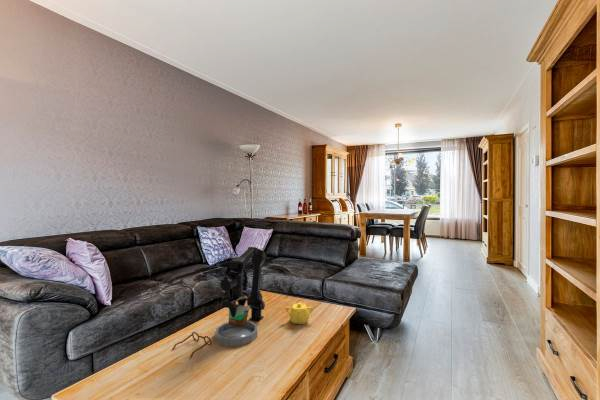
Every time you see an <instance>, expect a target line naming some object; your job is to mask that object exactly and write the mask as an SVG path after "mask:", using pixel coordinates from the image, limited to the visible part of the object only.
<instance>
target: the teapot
mask: <svg viewBox="0 0 600 400" xmlns="http://www.w3.org/2000/svg"><path fill="white" fill-rule="evenodd" d="M289 309H290V310H289ZM309 309H310V311H309ZM285 311H286V313H287V314H288V315H289V319H290V321H291V324H292V325H293V324H295V325H305V324H307V323H308V321H309V317H310V315H311V314H312V313H313V312H314V307H313V306H307V305H306V304H305V303H302V302H300V301H299V302H298V303H293V305H292V306H286V307H285Z"/></svg>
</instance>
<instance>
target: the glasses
mask: <svg viewBox="0 0 600 400" xmlns="http://www.w3.org/2000/svg"><path fill="white" fill-rule="evenodd" d="M195 335H196V336H197V339H196V338H195V337H194V336H195ZM191 337H192V339H193V341H196V340H197V341H196V342H199V341H200V338H201V339H202V340H203V341H204V344H203V345H201V346H200V347H199V348H196V349H195V350H193V351H192V353H191V354H190V356H189V358H190V359H192V357H193V356H194V354H195V353H196V352H198V351H199V350H202V349H203V348H204V347H205V346H206V345H207V346H211V345H212V339H211V338H210V337H209V336H207V335H205V336H202V335H200V334H198V333H197V332H195V331H192V332H191V334H190V335H188V336H187V337H186V338H184V339H183V340H182V341H178V342H177V343H175V344H174V345H173V347H172V349H171V351H172V350H173V351H174V350H175V348H176V346H178V345H179V344H182V343H184V342H186V340H188V339H190V338H191ZM206 338H207V339H208V341H206Z"/></svg>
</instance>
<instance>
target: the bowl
mask: <svg viewBox="0 0 600 400" xmlns="http://www.w3.org/2000/svg"><path fill="white" fill-rule="evenodd" d="M214 332H215V333H214V336H215V337H214V340H215V341H216V343H218V344H219V345H220V346H221V345H222V346H225V347H240V346H241V347H242V346H245V345H247V344H250V343H252V342H253V341H254V340H255V339H257V337H258V324H256V323H254V321H252V320H250V321H249V320H247V321H246V325H245V326H232V325H230V324H229V321H226V322H224V323H222V324H220V325H219V326H218V327H216V329H215V331H214Z"/></svg>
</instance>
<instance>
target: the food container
mask: <svg viewBox="0 0 600 400" xmlns="http://www.w3.org/2000/svg"><path fill="white" fill-rule="evenodd" d="M236 305H238V306H237V310H236V314H235V317H234V318H233V317H232V315H231V312H230V310H229V309H228V322H229V324H230V325H232V326H245V325H246V321H248V316H249V311H251V309H250V306H248V305H246V306H245V305H244V306H243V305H240V304H238V303H236Z"/></svg>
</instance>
